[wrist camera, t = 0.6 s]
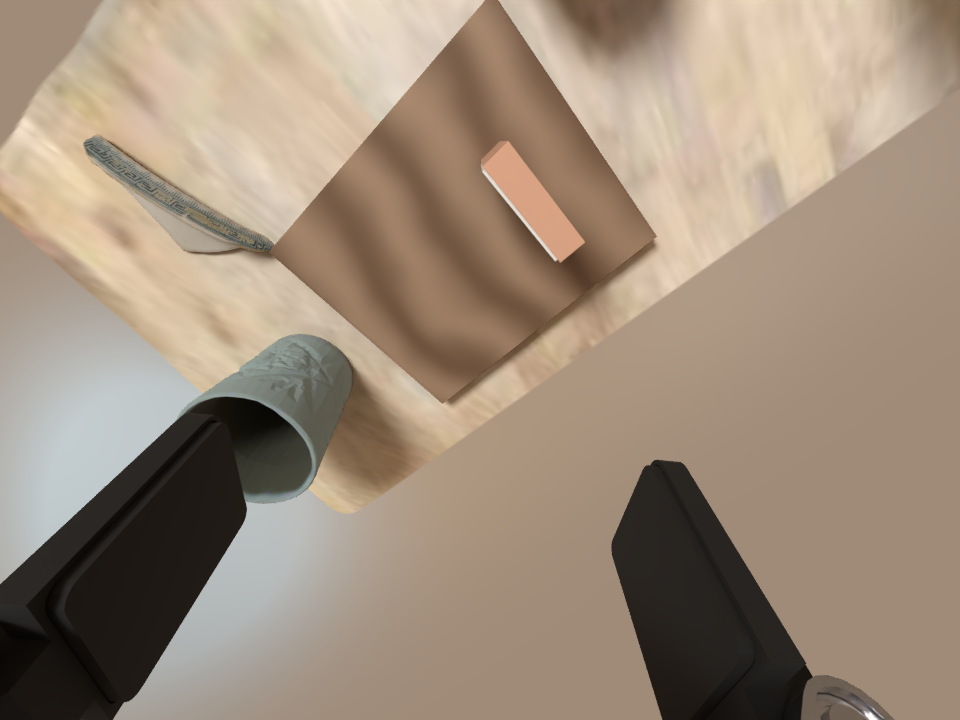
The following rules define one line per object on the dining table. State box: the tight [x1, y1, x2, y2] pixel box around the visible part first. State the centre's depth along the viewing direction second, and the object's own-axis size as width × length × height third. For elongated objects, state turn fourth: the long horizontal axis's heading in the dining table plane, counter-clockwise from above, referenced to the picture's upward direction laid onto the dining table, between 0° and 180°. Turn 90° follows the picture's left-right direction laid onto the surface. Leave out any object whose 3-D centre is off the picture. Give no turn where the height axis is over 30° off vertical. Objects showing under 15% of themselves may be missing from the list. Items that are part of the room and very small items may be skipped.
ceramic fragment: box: [83, 135, 274, 253], centre depth 31 cm, size 14×5×4 cm, turn 52°
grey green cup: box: [177, 334, 353, 503], centre depth 34 cm, size 10×10×12 cm
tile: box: [481, 141, 585, 263], centre depth 27 cm, size 2×7×9 cm, turn 42°
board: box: [269, 0, 657, 404], centre depth 33 cm, size 24×20×2 cm
